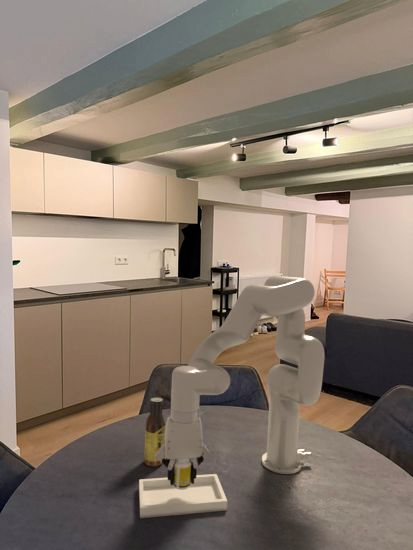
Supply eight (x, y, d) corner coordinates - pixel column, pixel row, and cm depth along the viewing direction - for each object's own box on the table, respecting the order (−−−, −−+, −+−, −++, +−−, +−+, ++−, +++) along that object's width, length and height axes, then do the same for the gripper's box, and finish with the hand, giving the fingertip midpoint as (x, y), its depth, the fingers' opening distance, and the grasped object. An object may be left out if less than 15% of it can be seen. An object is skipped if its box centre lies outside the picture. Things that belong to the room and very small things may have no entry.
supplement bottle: (193, 483, 103) (195, 452, 103) (185, 492, 99) (186, 460, 99) (177, 478, 105) (179, 448, 105) (169, 487, 101) (170, 455, 101)
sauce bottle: (160, 469, 116) (162, 404, 116) (140, 466, 118) (143, 402, 117) (166, 458, 123) (169, 397, 122) (148, 455, 124) (150, 395, 123)
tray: (216, 482, 110) (216, 473, 110) (226, 510, 98) (227, 500, 98) (138, 488, 106) (139, 479, 106) (140, 518, 94) (140, 508, 94)
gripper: (212, 407, 107) (210, 471, 107) (151, 409, 103) (148, 475, 104) (219, 418, 99) (215, 487, 100) (153, 421, 96) (150, 492, 97)
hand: (181, 480), depth 102 cm, fingers closed on supplement bottle, 4 cm apart
